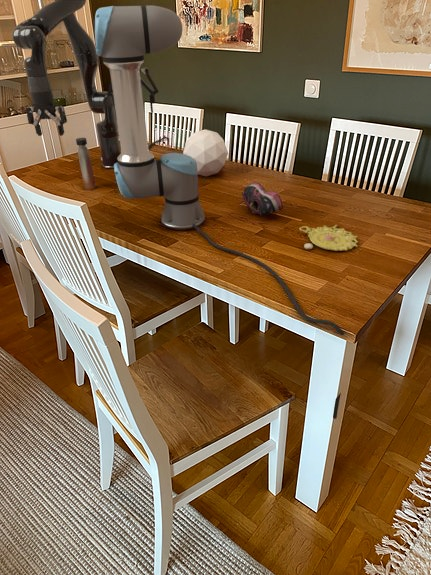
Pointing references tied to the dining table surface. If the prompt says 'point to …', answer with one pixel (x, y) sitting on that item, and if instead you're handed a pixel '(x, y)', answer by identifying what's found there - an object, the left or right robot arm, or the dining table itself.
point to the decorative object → (330, 238)
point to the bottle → (86, 167)
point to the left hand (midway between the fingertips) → (50, 135)
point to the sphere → (206, 151)
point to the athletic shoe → (261, 200)
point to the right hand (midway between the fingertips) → (135, 113)
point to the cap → (81, 141)
